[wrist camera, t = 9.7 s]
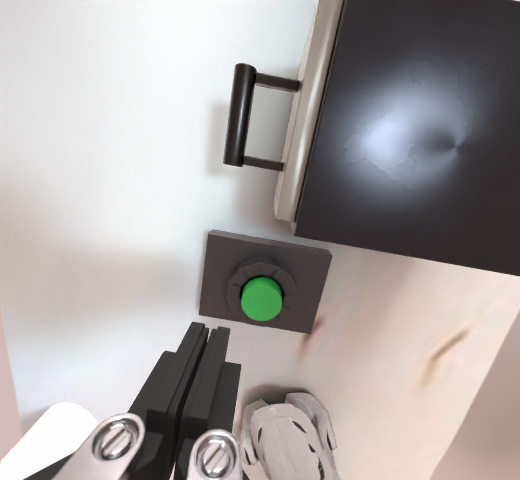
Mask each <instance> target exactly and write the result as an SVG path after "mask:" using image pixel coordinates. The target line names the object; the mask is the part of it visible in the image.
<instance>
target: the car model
mask: <svg viewBox="0 0 520 480" xmlns="http://www.w3.org/2000/svg"><path fill="white" fill-rule="evenodd" d="M240 448H241V454H242V459H243V461H244V463H245V464H247V465H255V464H256V463H257V461H258V460H260V462H261V465H262V467H263V469H264V471H265V474H266V476H267V478H268V480H340V479H339V477H338V474H337V472H336V468H335V463H334V458H333V453H332V450H334V449H335V448H337V444H336V440H335V436H334V432H333V428H332V424H331V421H330V417H329V414H328V411H327V410H326V409H324V408H323V407H322V406H321V404H320V403H319V402H318V401H317V400H316V399H315V398H314V397H313V396H312V395H310V394H308V393H306V392H298V393H288V394H287V396H286V399H285V402H284V403H282V404H274V405H271V404H270V403H268V402H266V401H265V400H263V399H259V400H257V401H255V402H252V403H250V404H248V405H246V407H245V408H244V410H243V427H242V430H241V434H240Z"/></svg>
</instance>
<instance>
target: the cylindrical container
mask: <svg viewBox="0 0 520 480" xmlns="http://www.w3.org/2000/svg"><path fill="white" fill-rule="evenodd" d="M97 426H98V425H97V421H96V419H95V418H94V416H93V415H92V414H91V413H90V412H89V411H87V410H86V409H84V408H83V407H81V406H78V405H75V404H71V403H58V404H55V405H53V406H51V407H50V408H49V409H48V410H47V411H46V412H45V413H44V414H43V415H42V416H41V418H40V419H39V420H38V421H37V422H36V423H35V424H34V425H33V426H32V427H31V428H30V429H29V431H28V432H27V433H26V434H25V435H24V436H23V437H22V438H21V439H20V440H19V441H18V443H17V444H16V445H15V446H14V447H13V448H12V449H11V450H10V451H9V452H8V453H7V455H6V456H5V457H4V458H3V459H2V460H1V461H0V480H23V479H25V478H26V477H28V476H30V475H32V474H34V473H36V472H38V471H40V470H41V469H43V468H45V467H47V466H49V465H51V464H53V463H55V462H56V461H58V460H60V459H62V458H64V457H66V456H68V455H70V454H72V453H73V452H75V451H76V450H77V449H78V448H79V447H80V445H81V444H82V443H83V442H84V441H85V440H86V438H87V437H88V436H89V435H90V434H91V433H92V431H93V430H94V429H95V428H96V427H97Z"/></svg>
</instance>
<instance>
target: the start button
mask: <svg viewBox="0 0 520 480" xmlns="http://www.w3.org/2000/svg"><path fill="white" fill-rule="evenodd" d="M241 306H242V309H243V311H244V312H245V314H246V315H247V316H248V317H250V318H251V319H253V320H257V321H267V320H270V319H272V318H274V317H275V316H277V315H278V313H279V312H280V310H281V308H282V296H281V290H280V287H279V285H278V284H277V283H276V282H275V281H274V280H272V279H270V278H267V277H256V278H253V279H252V280H250V281H249V282H248V283H247V284H246V285H245V287H244V290H243V294H242V299H241Z"/></svg>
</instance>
